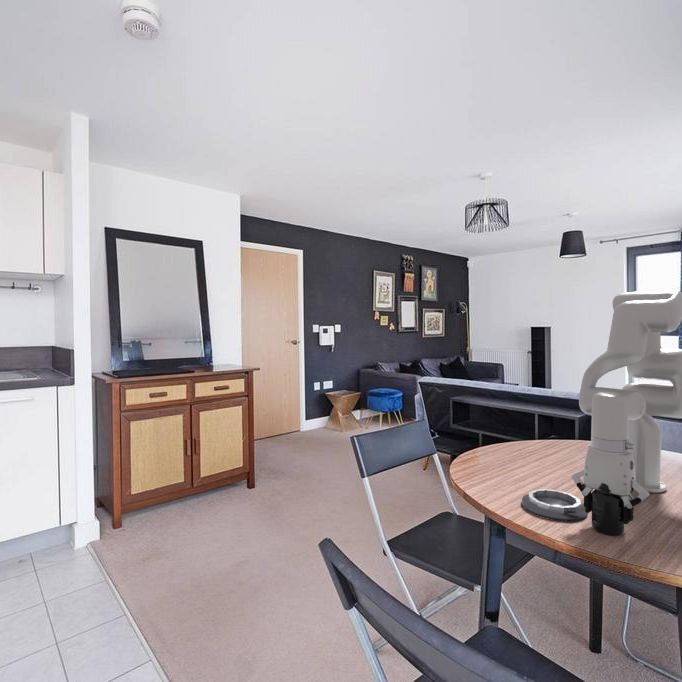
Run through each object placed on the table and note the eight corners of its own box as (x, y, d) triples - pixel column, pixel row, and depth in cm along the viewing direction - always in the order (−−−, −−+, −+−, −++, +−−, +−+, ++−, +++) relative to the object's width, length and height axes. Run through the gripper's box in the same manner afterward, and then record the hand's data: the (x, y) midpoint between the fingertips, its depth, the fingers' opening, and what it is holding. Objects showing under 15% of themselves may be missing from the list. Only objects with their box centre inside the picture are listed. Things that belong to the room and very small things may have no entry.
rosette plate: (538, 492, 130) (538, 482, 130) (597, 509, 118) (597, 499, 118) (510, 506, 120) (511, 496, 119) (572, 527, 107) (572, 516, 107)
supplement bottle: (612, 523, 110) (613, 475, 109) (631, 536, 103) (632, 486, 102) (585, 523, 109) (585, 476, 109) (602, 537, 102) (603, 486, 102)
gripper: (657, 449, 101) (655, 524, 102) (577, 435, 114) (575, 501, 115) (646, 455, 96) (645, 534, 97) (564, 440, 109) (563, 509, 110)
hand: (607, 516), depth 106 cm, fingers open, 7 cm apart
